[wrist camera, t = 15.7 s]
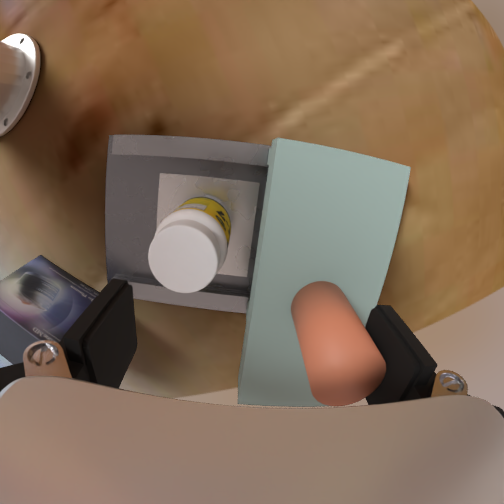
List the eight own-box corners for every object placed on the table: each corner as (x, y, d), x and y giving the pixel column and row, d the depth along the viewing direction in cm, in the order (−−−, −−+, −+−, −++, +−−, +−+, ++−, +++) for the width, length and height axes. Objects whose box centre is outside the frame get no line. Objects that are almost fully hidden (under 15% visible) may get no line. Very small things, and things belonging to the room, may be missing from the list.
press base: (113, 280, 27) (103, 293, 24) (116, 135, 22) (103, 134, 20) (367, 308, 29) (377, 322, 26) (401, 173, 24) (416, 177, 21)
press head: (239, 314, 25) (236, 476, 11) (262, 144, 20) (301, 127, 6) (307, 320, 25) (355, 471, 11) (341, 158, 21) (487, 183, 6)
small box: (116, 297, 28) (70, 360, 18) (103, 339, 29) (64, 402, 20) (40, 250, 26) (-22, 291, 16) (33, 295, 28) (-18, 342, 18)
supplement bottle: (233, 250, 24) (228, 299, 16) (178, 254, 24) (149, 302, 16) (229, 192, 23) (220, 215, 15) (171, 197, 23) (134, 222, 15)
